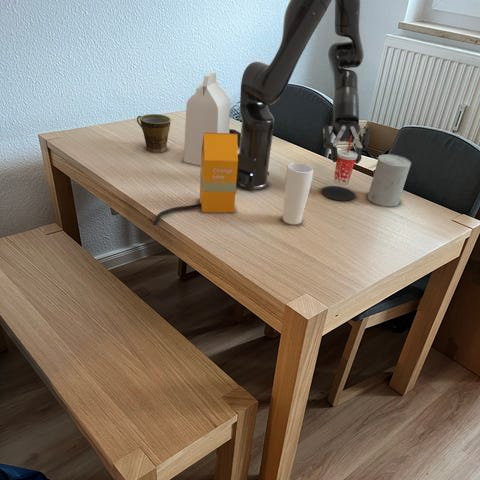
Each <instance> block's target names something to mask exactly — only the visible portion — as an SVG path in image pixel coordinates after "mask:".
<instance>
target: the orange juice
mask: <svg viewBox="0 0 480 480" xmlns="http://www.w3.org/2000/svg"><path fill="white" fill-rule="evenodd" d="M238 148H239V146H238V140H237V134H231V133H204V136H203V143H202V149H201V165H200V173H199V174H200V175H199V180H200V181H199V203H201V207H200V209H201V213H234V212H235V202H236V201H235V200H236V192H237V185H236V179H237V168H238V154H239V149H238Z"/></svg>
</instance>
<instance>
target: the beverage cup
mask: <svg viewBox="0 0 480 480" xmlns="http://www.w3.org/2000/svg"><path fill="white" fill-rule="evenodd" d="M351 139H352V136H350V141H349V142H348V146H347V148H346V149H337V161H336V162H335V168H334V175H333V180H332V181H333V182H332V183H333V184H335V185H336V186H339V187H346V186H348V185H349V182H350V179H351V176H352V172H353V170H354V166H355V160H356V159H357V156H358V154H357V153H356V152H355V150H354V151H353V150H351V149H350V147H351Z"/></svg>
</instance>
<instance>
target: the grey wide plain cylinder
mask: <svg viewBox="0 0 480 480" xmlns="http://www.w3.org/2000/svg"><path fill="white" fill-rule="evenodd" d="M411 166H412V162H411V160H410V159H408V158H406V157H404V156H401V155H397V154H392V153H387V154H386V153H385V154H384V153H383V154H380V155H379V156H378V157H377V162H376V165H375V169H374V172H373V176H372V180H371V184H370V186H369V190H368V191H369V192H368V194H367V200H368V201H369V202H371V203H373V204H375V205H378V206H382V207H388V208H390V207H396V206H398V205H399V204H400V199H401V196H402V194H403V190H404V187H405V184H406V181H407V177H408V175H409V171H410V168H411Z"/></svg>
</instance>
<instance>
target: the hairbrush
mask: <svg viewBox="0 0 480 480" xmlns="http://www.w3.org/2000/svg"><path fill="white" fill-rule="evenodd" d="M229 133H230V134H237V140H238V148H240V137H241V132H239V130H236V129H233V128H229Z"/></svg>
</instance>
